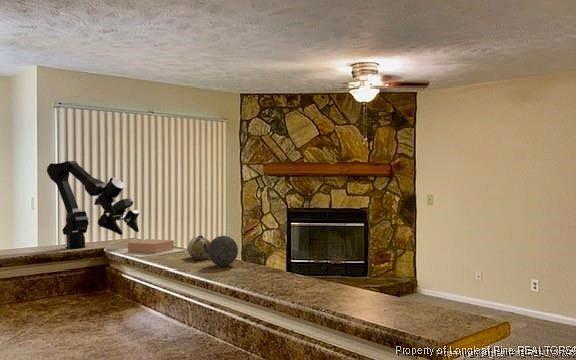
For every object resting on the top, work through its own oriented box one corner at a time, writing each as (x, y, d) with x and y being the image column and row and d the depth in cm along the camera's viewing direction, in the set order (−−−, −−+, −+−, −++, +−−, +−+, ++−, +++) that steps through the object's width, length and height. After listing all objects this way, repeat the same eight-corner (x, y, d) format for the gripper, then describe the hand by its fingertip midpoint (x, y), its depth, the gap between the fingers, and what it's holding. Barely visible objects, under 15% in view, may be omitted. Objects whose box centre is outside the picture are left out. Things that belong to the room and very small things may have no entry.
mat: (141, 258, 192) (141, 257, 192) (107, 252, 210) (107, 250, 210) (186, 251, 206) (186, 250, 206) (150, 246, 224) (150, 245, 224)
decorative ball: (214, 269, 166) (213, 238, 166) (204, 265, 175) (203, 235, 175) (243, 266, 170) (242, 236, 170) (232, 262, 179) (231, 233, 179)
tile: (127, 242, 205) (155, 244, 198) (146, 239, 214) (173, 240, 208) (128, 252, 205) (155, 253, 198) (147, 248, 215) (174, 249, 208)
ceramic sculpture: (206, 231, 198) (223, 237, 185) (206, 253, 199) (223, 261, 186) (180, 234, 192) (195, 240, 180) (180, 257, 193) (196, 265, 180)
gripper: (102, 193, 205) (123, 221, 200) (135, 191, 222) (156, 217, 217) (88, 212, 209) (109, 241, 204) (122, 208, 225) (142, 235, 221)
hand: (130, 233), depth 211 cm, fingers open, 9 cm apart
